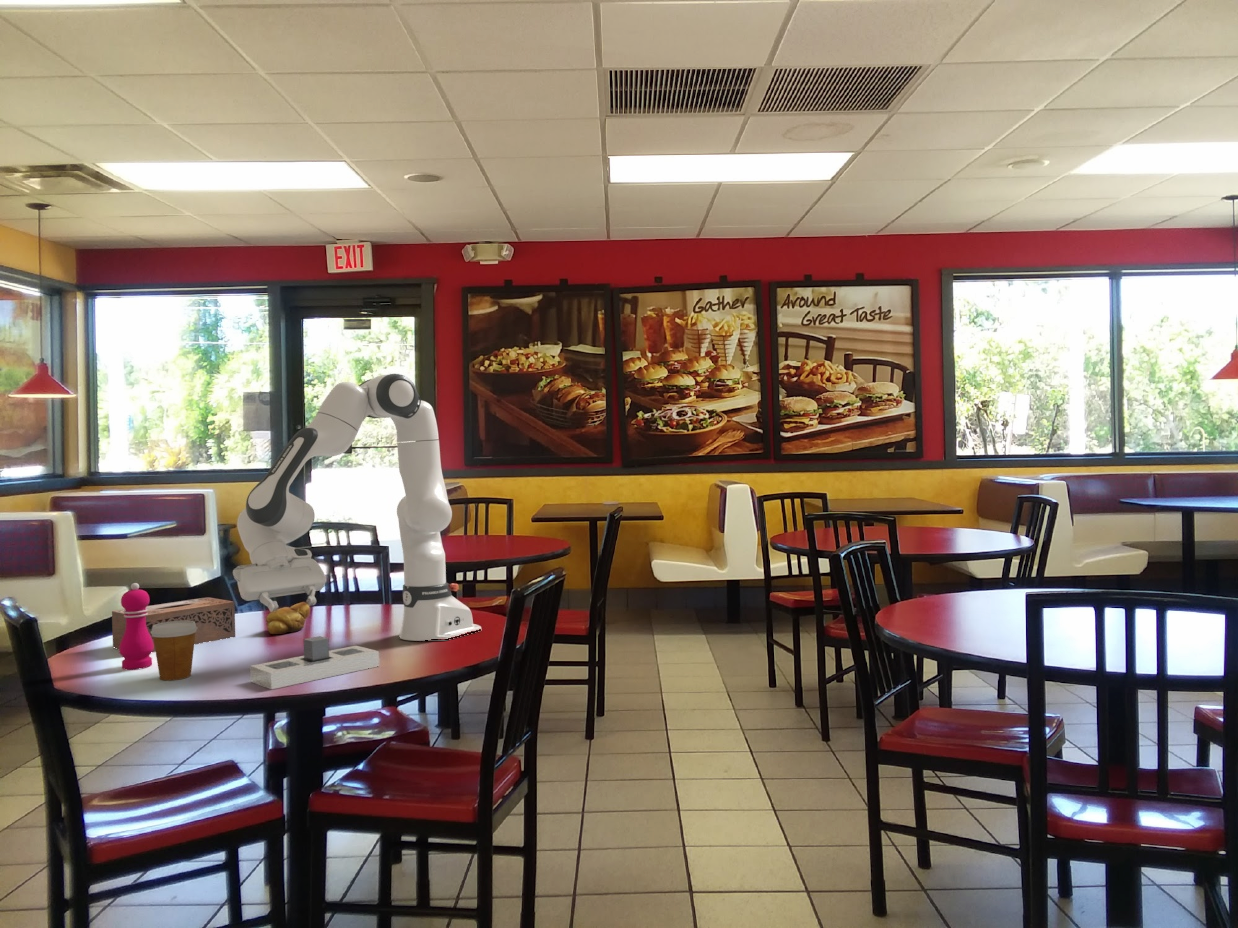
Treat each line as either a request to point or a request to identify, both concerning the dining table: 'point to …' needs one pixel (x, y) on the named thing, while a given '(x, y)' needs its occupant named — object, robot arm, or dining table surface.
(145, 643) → the pepper mill
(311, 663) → the rail
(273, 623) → the bread roll
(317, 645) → the peg
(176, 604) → the tissue box cover
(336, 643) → the dining table surface
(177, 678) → the disposable coffee cup
